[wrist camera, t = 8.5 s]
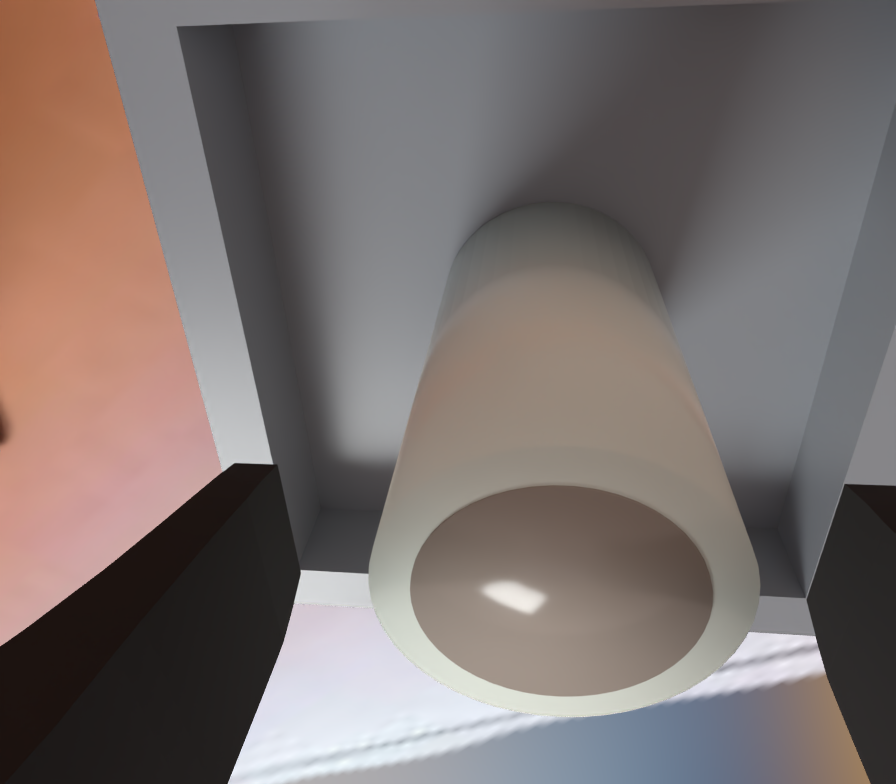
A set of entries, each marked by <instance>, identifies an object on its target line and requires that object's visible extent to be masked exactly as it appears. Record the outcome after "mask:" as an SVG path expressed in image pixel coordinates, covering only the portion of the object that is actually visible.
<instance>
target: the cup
mask: <svg viewBox="0 0 896 784" xmlns="http://www.w3.org/2000/svg"><path fill="white" fill-rule="evenodd" d="M368 583H369V590H370V597H371V601H372V604H373V607H374V610H375V613H376V616H377V618H378V620H379V622H380V624H381V625H382V627H383V629H384V631H385V633H386V634H387V635H388V637H389V638H390V640H391V641H392V642H393V644H394V645H395V646H396V647H397V648H398V649H399V651H400V652H401V653H402V654H403V655H404V656H405V657H406V658H407V659H408V660H409V661H410V662H412V663H413V664H414V665H415V666H416V667H418V668H419V669H420V670H421V671H422V672H424V673H425V674H427V675H428V676H430V677H431V678H433V679H434V680H436V681H437V682H439V683H441V684H442V685H444V686H446V687H448V688H450V689H452V690H454V691H455V692H457V693H460V694H462V695H465V696H467V697H469V698H472V699H474V700H476V701H480V702H483V703H486V704H489V705H492V706H495V707H499V708H503V709H507V710H511V711H515V712H521V713H527V714H534V715H542V716H555V717H588V716H599V715H608V714H614V713H620V712H626V711H631V710H635V709H638V708H642V707H646V706H650V705H653V704H655V703H658V702H661V701H664V700H667V699H669V698H671V697H673V696H676V695H678V694H680V693H682V692H684V691H686V690H688V689H690V688H691V687H693V686H695V685H696V684H698V683H700V682H701V681H703V680H705V679H706V678H707V677H709V676H710V675H711V674H712V673H714V672H715V671H716V670H717V669H719V668H720V667H721V666H722V665H723V664H724V663H725V662H726V661H727V660H728V659H729V658H730V657H731V656H732V655H733V654H734V653H735V652H736V650H737V649H738V647H739V646H740V645H741V643H742V642H743V640H744V639H745V638H746V636H747V634H748V632H749V630H750V628H751V626H752V624H753V622H754V619H755V615H756V612H757V608H758V605H759V597H760V576H759V567H758V563H757V560H756V557H755V554H754V551H753V548H752V545H751V542H750V539H749V537H748V534H747V531H746V528H745V525H744V523H743V520H742V517H741V514H740V512H739V509H738V506H737V503H736V501H735V498H734V495H733V492H732V489H731V487H730V484H729V481H728V478H727V476H726V473H725V470H724V467H723V464H722V462H721V459H720V456H719V453H718V451H717V448H716V445H715V442H714V440H713V437H712V434H711V431H710V428H709V426H708V423H707V420H706V417H705V415H704V412H703V409H702V406H701V404H700V401H699V398H698V395H697V392H696V390H695V387H694V384H693V381H692V379H691V376H690V373H689V370H688V368H687V365H686V362H685V359H684V356H683V354H682V351H681V348H680V345H679V343H678V340H677V337H676V334H675V331H674V329H673V326H672V323H671V320H670V318H669V315H668V312H667V309H666V307H665V304H664V301H663V298H662V295H661V293H660V290H659V287H658V284H657V282H656V279H655V276H654V273H653V271H652V268H651V265H650V262H649V260H648V258H647V256H646V254H645V252H644V250H643V249H642V247H641V246H640V244H639V243H638V242H637V240H636V239H635V238H634V237H633V236H632V235H631V234H630V233H629V232H628V230H627V229H626V228H624V227H623V226H622V225H620V224H619V223H618V222H617V221H615V220H614V219H612V218H610V217H609V216H607V215H605V214H603V213H601V212H599V211H596V210H594V209H592V208H589V207H585V206H581V205H578V204H573V203H565V202H541V203H534V204H528V205H525V206H521V207H517V208H514V209H512V210H509V211H507V212H504V213H502V214H500V215H499V216H497V217H495V218H493V219H492V220H490V221H488V222H487V223H486V224H484V225H483V226H482V227H481V228H479V229H478V230H477V231H476V232H475V233H474V234H473V235H472V236H471V237H470V238H469V239H468V240H467V242H466V243H465V244H464V245H463V247H462V248H461V249H460V251H459V253H458V254H457V256H456V258H455V260H454V262H453V264H452V267H451V269H450V272H449V275H448V278H447V282H446V285H445V289H444V293H443V296H442V300H441V303H440V307H439V311H438V314H437V318H436V321H435V325H434V329H433V332H432V336H431V340H430V343H429V347H428V350H427V354H426V358H425V361H424V365H423V368H422V372H421V376H420V379H419V383H418V386H417V390H416V394H415V397H414V401H413V404H412V408H411V412H410V415H409V419H408V422H407V426H406V430H405V433H404V437H403V440H402V444H401V448H400V451H399V455H398V459H397V462H396V466H395V469H394V473H393V477H392V480H391V484H390V487H389V491H388V495H387V498H386V502H385V505H384V509H383V513H382V516H381V520H380V523H379V527H378V531H377V534H376V538H375V541H374V545H373V549H372V553H371V558H370V562H369V577H368Z"/></svg>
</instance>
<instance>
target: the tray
mask: <svg viewBox="0 0 896 784" xmlns="http://www.w3.org/2000/svg"><path fill="white" fill-rule="evenodd" d="M95 3H96V6H97V10H98V14H99V17H100V21H101V25H102V29H103V32H104V36H105V40H106V43H107V47H108V51H109V54H110V58H111V62H112V65H113V69H114V73H115V77H116V80H117V84H118V88H119V91H120V95H121V99H122V102H123V106H124V110H125V113H126V117H127V121H128V125H129V128H130V132H131V136H132V139H133V143H134V147H135V150H136V154H137V158H138V161H139V165H140V169H141V173H142V176H143V180H144V184H145V187H146V191H147V195H148V198H149V202H150V206H151V209H152V213H153V217H154V221H155V224H156V228H157V232H158V235H159V239H160V243H161V246H162V250H163V254H164V257H165V261H166V265H167V269H168V272H169V276H170V280H171V283H172V287H173V291H174V294H175V298H176V302H177V305H178V309H179V313H180V317H181V320H182V324H183V328H184V331H185V335H186V339H187V342H188V346H189V350H190V353H191V357H192V361H193V365H194V368H195V372H196V376H197V379H198V383H199V387H200V390H201V394H202V398H203V401H204V405H205V409H206V413H207V416H208V420H209V424H210V427H211V431H212V435H213V438H214V442H215V446H216V449H217V453H218V457H219V461H220V464H221V468H222V472H223V471H225V470H226V469H227V468H229V467H230V466H231V465H232V464H234V463H250V464H278V469H279V473H280V478H281V482H282V487H283V492H284V496H285V501H286V506H287V510H288V515H289V519H290V524H291V529H292V533H293V538H294V543H295V547H296V552H297V556H298V561H299V566H300V570H301V576H300V580H299V584H298V588H297V592H296V596H295V600H294V604H308V605H324V606H340V607H356V608H372V609H374V607H373V604H372V601H371V597H370V590H369V583H368V577H369V562H370V558H371V553H372V549H373V545H374V541H375V538H376V534H377V531H378V527H379V523H380V520H381V516H382V513H383V509H384V505H385V502H386V498H387V495H388V491H389V487H390V484H391V480H392V477H393V473H394V469H395V466H396V462H397V459H398V455H399V451H400V448H401V444H402V440H403V437H404V433H405V430H406V426H407V422H408V419H409V415H410V412H411V408H412V404H413V401H414V397H415V394H416V390H417V386H418V383H419V379H420V376H421V372H422V368H423V365H424V361H425V358H426V354H427V350H428V347H429V343H430V340H431V336H432V332H433V329H434V325H435V321H436V318H437V314H438V311H439V307H440V303H441V300H442V296H443V293H444V289H445V285H446V282H447V278H448V275H449V272H450V269H451V267H452V264H453V262H454V260H455V258H456V256H457V254H458V253H459V251H460V249H461V248H462V247H463V245H464V244H465V243H466V242H467V240H468V239H469V238H470V237H471V236H472V235H473V234H474V233H475V232H476V231H477V230H478V229H479V228H481V227H482V226H483V225H484V224H486V223H487V222H488V221H490V220H492V219H493V218H495V217H497V216H499V215H500V214H502V213H504V212H507V211H509V210H512V209H514V208H517V207H521V206H525V205H528V204H534V203H541V202H565V203H573V204H578V205H581V206H585V207H589V208H592V209H594V210H596V211H599V212H601V213H603V214H605V215H607V216H609V217H610V218H612V219H614V220H615V221H617V222H618V223H619V224H620V225H622V226H623V227H624V228H626V229H627V230H628V232H629V233H630V234H631V235H632V236H633V237H634V238H635V239H636V240H637V242H638V243H639V244H640V246H641V247H642V249H643V250H644V252H645V254H646V256H647V258H648V260H649V262H650V265H651V268H652V271H653V273H654V276H655V279H656V282H657V284H658V287H659V290H660V293H661V295H662V298H663V301H664V304H665V307H666V309H667V312H668V315H669V318H670V320H671V323H672V326H673V329H674V331H675V334H676V337H677V340H678V343H679V345H680V348H681V351H682V354H683V356H684V359H685V362H686V365H687V368H688V370H689V373H690V376H691V379H692V381H693V384H694V387H695V390H696V392H697V395H698V398H699V401H700V404H701V406H702V409H703V412H704V415H705V417H706V420H707V423H708V426H709V428H710V431H711V434H712V437H713V440H714V442H715V445H716V448H717V451H718V453H719V456H720V459H721V462H722V464H723V467H724V470H725V473H726V476H727V478H728V481H729V484H730V487H731V489H732V492H733V495H734V498H735V501H736V503H737V506H738V509H739V512H740V514H741V517H742V520H743V523H744V525H745V528H746V531H747V534H748V537H749V539H750V542H751V545H752V548H753V551H754V554H755V557H756V560H757V563H758V567H759V576H760V597H759V605H758V608H757V612H756V615H755V619H754V622H753V624H752V626H751V628H750V630H749V632H759V633H776V634H792V635H808V636H815V632H814V628H813V624H812V620H811V616H810V612H809V608H808V604H807V600H806V599H807V596H808V593H809V590H810V587H811V584H812V581H813V578H814V575H815V572H816V569H817V566H818V563H819V560H820V557H821V554H822V551H823V548H824V545H825V542H826V539H827V536H828V533H829V530H830V527H831V524H832V521H833V517H834V514H835V511H836V508H837V505H838V502H839V499H840V496H841V493H842V490H843V487H844V484H863V485H892V486H896V0H95Z"/></svg>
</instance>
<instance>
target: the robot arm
mask: <svg viewBox="0 0 896 784" xmlns="http://www.w3.org/2000/svg"><path fill="white" fill-rule="evenodd" d="M300 576H301V570H300V566H299V561H298V556H297V552H296V547H295V543H294V538H293V533H292V529H291V524H290V519H289V515H288V510H287V506H286V501H285V496H284V492H283V487H282V482H281V478H280V473H279V469H278V464H250V463H234V464H232V465H231V466H230V467H229V468H227V469H226V470H225V471H223V472H222V473H221V474H220V475H218V476H217V477H216V478H215V479H213V480H212V481H211V482H210V483H209V484H207V485H206V486H205V487H204V488H202V489H201V490H200V491H199V492H198V493H196V494H195V495H194V496H193V497H192V498H191V499H189V500H188V501H187V502H186V503H185V504H183V505H182V506H181V507H180V508H179V509H177V510H176V511H175V512H174V513H173V514H171V515H170V516H169V517H168V518H167V519H165V520H164V521H163V522H162V523H161V524H159V525H158V526H157V527H156V528H155V529H153V530H152V531H151V532H150V533H148V534H147V535H146V536H145V537H144V538H142V539H141V540H140V541H139V542H137V543H136V544H135V545H134V546H133V547H131V548H130V549H129V550H128V551H126V552H125V553H124V554H123V555H122V556H120V557H119V558H118V559H117V560H115V561H114V562H113V563H112V564H110V565H109V566H108V567H107V568H105V569H104V570H103V571H102V572H100V573H99V574H98V575H96V576H95V577H94V578H92V579H91V580H90V581H88V582H87V583H86V584H84V585H83V586H82V587H80V588H79V589H78V590H76V591H75V592H74V593H72V594H71V595H70V596H68V597H67V598H66V599H64V600H63V601H62V602H61V603H59V604H58V605H57V606H55V607H54V608H53V609H51V610H50V611H49V612H47V613H46V614H45V615H43V616H42V617H41V618H39V619H38V620H37V621H35V622H34V623H33V624H31V625H30V626H29V627H27V628H26V629H25V630H23V631H22V632H20V633H19V634H17V635H16V636H15V637H13V638H12V639H10V640H9V641H8V642H6V643H5V644H3V645H2V646H0V784H228V781H229V779H230V776H231V774H232V771H233V769H234V766H235V764H236V761H237V759H238V756H239V754H240V751H241V749H242V746H243V744H244V741H245V739H246V736H247V734H248V731H249V729H250V726H251V724H252V721H253V719H254V716H255V714H256V711H257V709H258V706H259V704H260V701H261V699H262V696H263V694H264V691H265V688H266V686H267V683H268V681H269V678H270V676H271V673H272V671H273V668H274V665H275V663H276V660H277V658H278V655H279V652H280V650H281V647H282V645H283V642H284V638H285V634H286V631H287V627H288V623H289V620H290V616H291V612H292V608H293V604H294V600H295V596H296V592H297V588H298V584H299V580H300ZM806 600H807V604H808V608H809V612H810V616H811V620H812V624H813V628H814V632H815V636H816V640H817V643H818V647H819V650H820V654H821V657H822V661H823V664H824V668H825V671H826V675H827V678H828V680H829V683H830V686H831V688H832V691H833V693H834V696H835V698H836V701H837V703H838V706H839V708H840V710H841V713H842V715H843V718H844V720H845V723H846V725H847V728H848V730H849V733H850V735H851V737H852V740H853V742H854V745H855V747H856V749H857V752H858V754H859V757H860V759H861V761H862V764H863V766H864V769H865V771H866V773H867V776H868V778H869V780H870V783H871V784H896V486H892V485H863V484H844V487H843V490H842V493H841V496H840V499H839V502H838V505H837V508H836V511H835V514H834V517H833V521H832V524H831V527H830V530H829V533H828V536H827V539H826V542H825V545H824V548H823V551H822V554H821V557H820V560H819V563H818V566H817V569H816V572H815V575H814V578H813V581H812V584H811V587H810V590H809V593H808V596H807V599H806Z"/></svg>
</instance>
